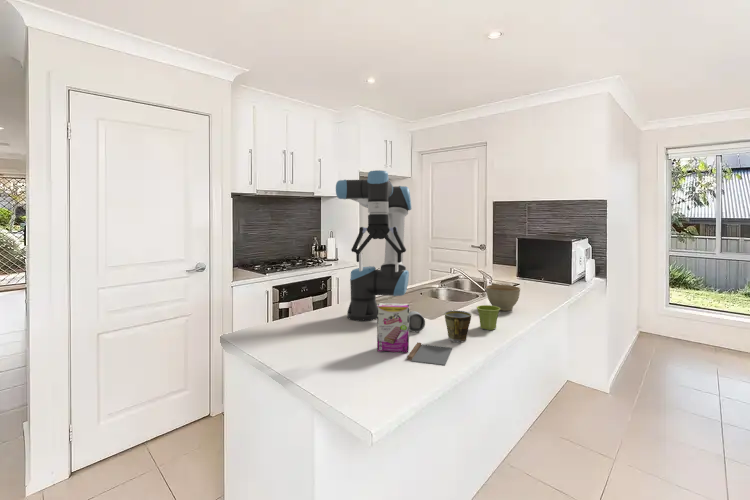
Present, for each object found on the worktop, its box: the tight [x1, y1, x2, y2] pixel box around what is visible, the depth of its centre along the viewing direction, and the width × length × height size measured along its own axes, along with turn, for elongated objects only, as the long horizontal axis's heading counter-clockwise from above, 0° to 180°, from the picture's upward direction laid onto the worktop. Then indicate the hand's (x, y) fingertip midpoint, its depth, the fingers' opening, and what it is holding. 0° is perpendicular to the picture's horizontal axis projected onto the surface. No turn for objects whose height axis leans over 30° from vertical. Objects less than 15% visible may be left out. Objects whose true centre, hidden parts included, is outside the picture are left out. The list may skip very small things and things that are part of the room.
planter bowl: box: [485, 284, 521, 312], centre depth 189 cm, size 16×16×11 cm
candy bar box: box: [376, 302, 410, 353], centre depth 133 cm, size 11×5×16 cm, turn 84°
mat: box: [410, 343, 453, 366], centre depth 129 cm, size 11×16×1 cm
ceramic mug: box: [409, 310, 426, 333], centre depth 157 cm, size 11×8×8 cm
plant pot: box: [476, 304, 501, 331], centre depth 158 cm, size 9×9×9 cm
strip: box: [407, 342, 422, 361], centre depth 131 cm, size 2×14×1 cm, turn 160°
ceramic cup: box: [444, 310, 472, 343], centre depth 142 cm, size 13×10×10 cm
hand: (378, 271), depth 141 cm, fingers open, 13 cm apart
